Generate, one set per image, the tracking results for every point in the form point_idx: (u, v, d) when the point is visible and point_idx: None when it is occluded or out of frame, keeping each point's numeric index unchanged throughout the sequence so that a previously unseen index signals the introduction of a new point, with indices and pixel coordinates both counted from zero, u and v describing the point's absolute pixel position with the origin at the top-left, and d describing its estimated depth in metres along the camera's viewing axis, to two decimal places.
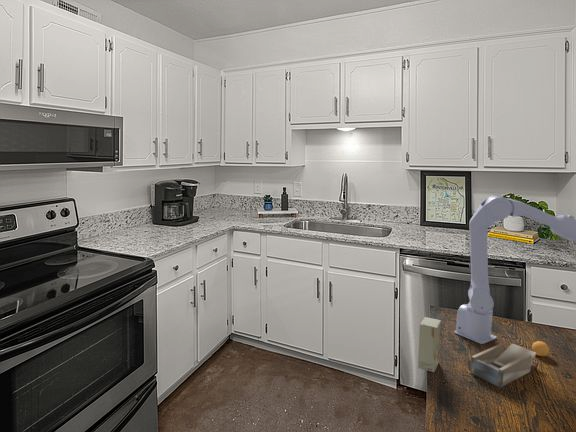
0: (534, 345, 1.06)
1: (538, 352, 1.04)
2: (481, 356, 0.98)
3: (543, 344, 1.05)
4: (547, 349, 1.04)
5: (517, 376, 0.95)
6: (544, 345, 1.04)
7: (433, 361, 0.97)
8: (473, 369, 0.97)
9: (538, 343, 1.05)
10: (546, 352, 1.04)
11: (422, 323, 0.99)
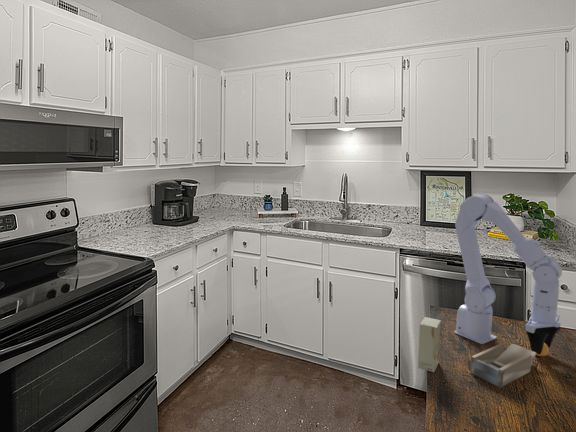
0: None
1: None
2: (481, 356, 0.98)
3: None
4: (547, 349, 1.04)
5: (517, 376, 0.95)
6: (544, 345, 1.04)
7: (433, 361, 0.97)
8: (473, 369, 0.97)
9: None
10: (546, 352, 1.04)
11: (422, 323, 0.99)
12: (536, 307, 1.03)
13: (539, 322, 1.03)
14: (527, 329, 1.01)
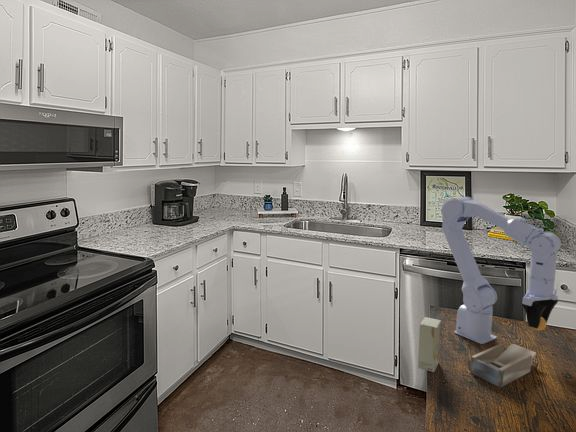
0: None
1: None
2: (481, 356, 0.98)
3: None
4: (544, 323, 1.02)
5: (517, 376, 0.95)
6: (541, 319, 1.02)
7: (433, 361, 0.97)
8: (473, 369, 0.97)
9: None
10: (543, 326, 1.02)
11: (422, 323, 0.99)
12: (533, 280, 1.01)
13: (536, 295, 1.01)
14: (524, 302, 0.99)
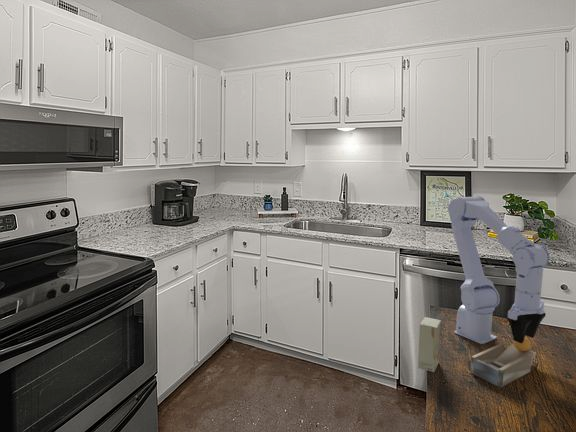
0: (515, 342, 1.02)
1: (520, 349, 1.01)
2: (481, 356, 0.98)
3: None
4: (528, 344, 1.00)
5: (517, 376, 0.95)
6: (524, 341, 1.00)
7: (433, 361, 0.97)
8: (473, 369, 0.97)
9: None
10: (528, 348, 1.00)
11: (422, 323, 0.99)
12: (519, 293, 1.00)
13: (522, 309, 0.99)
14: (510, 316, 0.98)
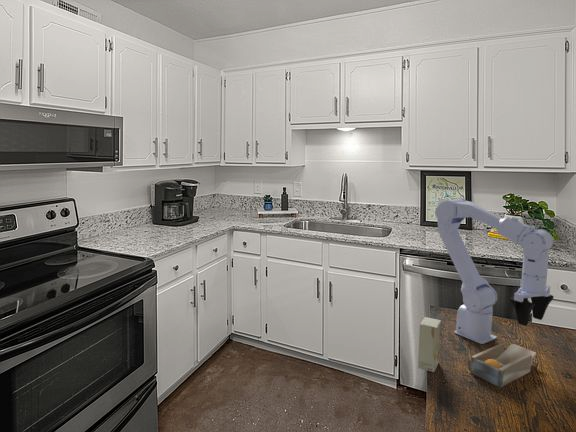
0: None
1: None
2: (481, 356, 0.98)
3: None
4: None
5: (517, 376, 0.95)
6: None
7: (433, 361, 0.97)
8: (473, 369, 0.97)
9: None
10: None
11: (422, 323, 0.99)
12: (525, 277, 1.02)
13: (528, 292, 1.02)
14: (516, 299, 1.01)
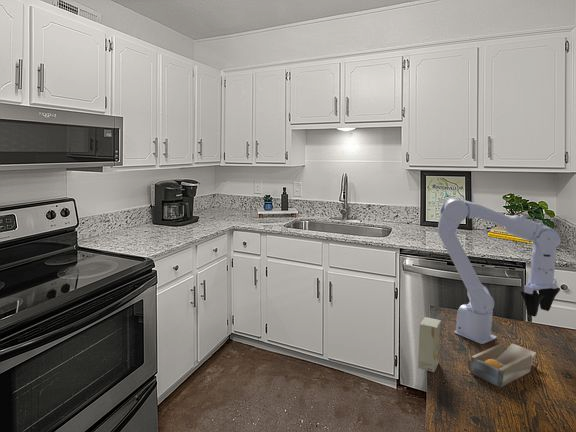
0: None
1: None
2: (481, 356, 0.98)
3: None
4: None
5: (517, 376, 0.95)
6: None
7: (433, 361, 0.97)
8: (473, 369, 0.97)
9: None
10: None
11: (422, 323, 0.99)
12: (534, 270, 1.09)
13: (537, 284, 1.08)
14: (526, 291, 1.07)
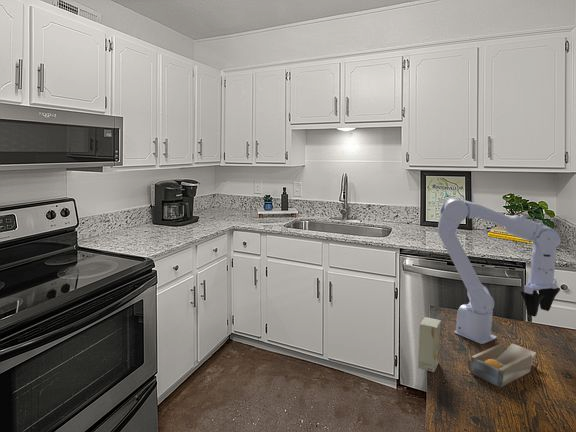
0: None
1: None
2: (481, 356, 0.98)
3: None
4: None
5: (517, 376, 0.95)
6: None
7: (433, 361, 0.97)
8: (473, 369, 0.97)
9: None
10: None
11: (422, 323, 0.99)
12: (534, 270, 1.09)
13: (537, 284, 1.08)
14: (526, 291, 1.07)
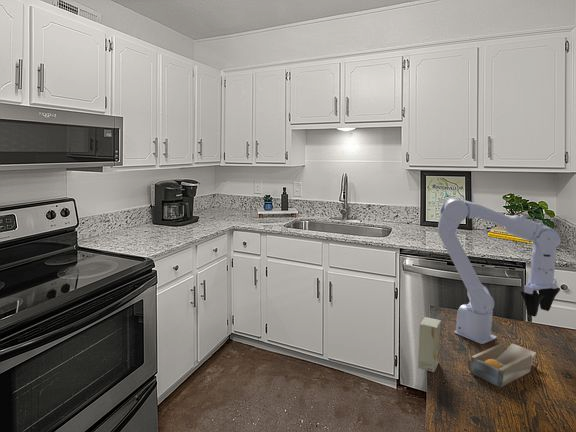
0: None
1: None
2: (481, 356, 0.98)
3: None
4: None
5: (517, 376, 0.95)
6: None
7: (433, 361, 0.97)
8: (473, 369, 0.97)
9: None
10: None
11: (422, 323, 0.99)
12: (534, 270, 1.09)
13: (537, 284, 1.08)
14: (526, 291, 1.07)
